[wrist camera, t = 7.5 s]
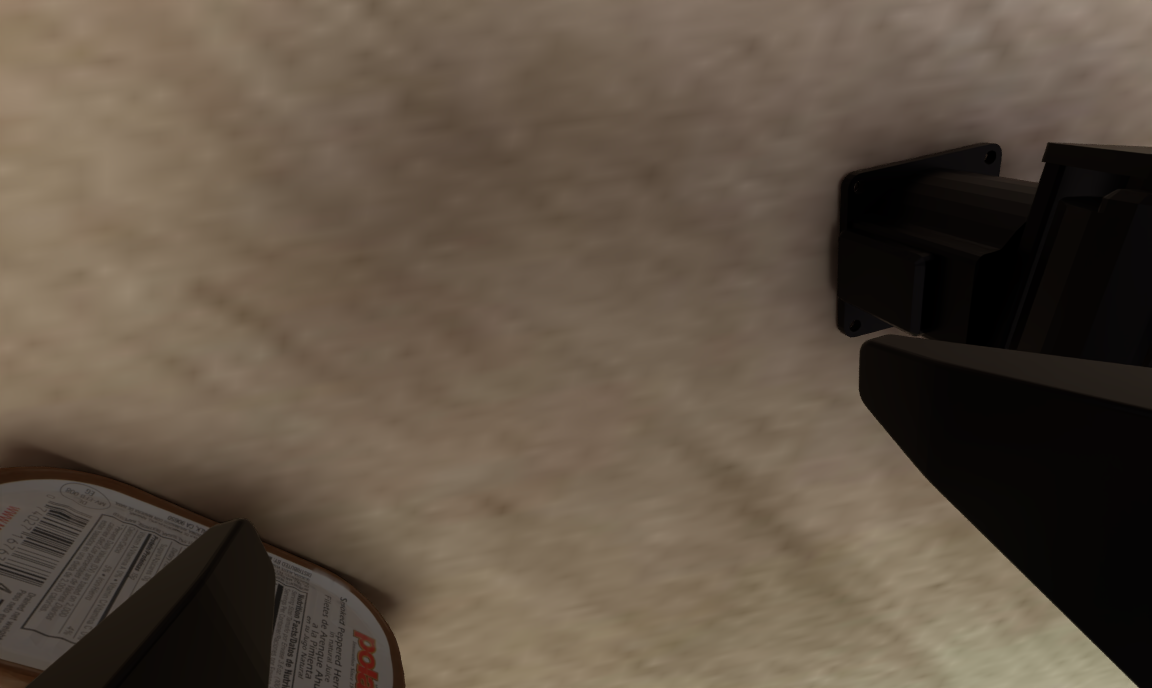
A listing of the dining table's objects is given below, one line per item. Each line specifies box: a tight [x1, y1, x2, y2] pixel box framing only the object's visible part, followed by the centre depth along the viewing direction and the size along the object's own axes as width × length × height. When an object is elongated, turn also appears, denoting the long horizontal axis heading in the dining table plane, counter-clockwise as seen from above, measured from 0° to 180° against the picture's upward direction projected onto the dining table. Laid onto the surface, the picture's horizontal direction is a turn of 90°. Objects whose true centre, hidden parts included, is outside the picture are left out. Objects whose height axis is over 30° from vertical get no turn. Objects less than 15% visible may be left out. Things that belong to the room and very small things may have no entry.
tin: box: [0, 467, 405, 688], centre depth 18 cm, size 15×3×8 cm, turn 49°
